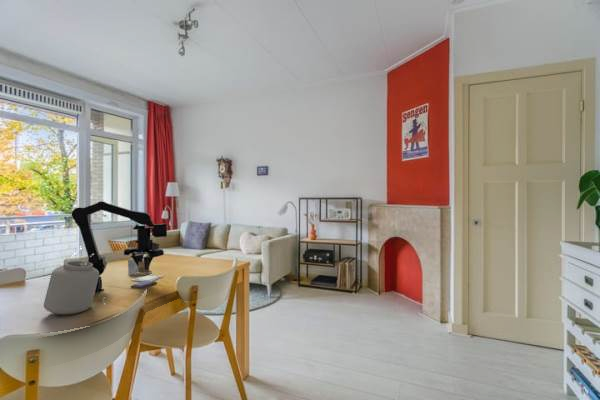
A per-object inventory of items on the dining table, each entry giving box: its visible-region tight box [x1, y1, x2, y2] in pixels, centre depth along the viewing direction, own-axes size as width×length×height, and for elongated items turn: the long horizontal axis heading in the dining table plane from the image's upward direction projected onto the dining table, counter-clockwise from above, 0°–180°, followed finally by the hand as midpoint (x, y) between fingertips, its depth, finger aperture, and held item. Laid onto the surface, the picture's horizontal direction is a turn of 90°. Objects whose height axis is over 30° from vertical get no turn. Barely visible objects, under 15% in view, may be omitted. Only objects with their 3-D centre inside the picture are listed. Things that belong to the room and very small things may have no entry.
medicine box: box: [127, 257, 144, 276], centre depth 165 cm, size 8×4×9 cm, turn 179°
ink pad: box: [130, 280, 158, 290], centre depth 142 cm, size 9×7×1 cm
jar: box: [43, 245, 106, 315], centre depth 111 cm, size 19×15×25 cm
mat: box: [130, 274, 165, 283], centre depth 154 cm, size 11×11×1 cm
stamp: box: [135, 259, 153, 277], centre depth 142 cm, size 5×5×7 cm
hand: (143, 269), depth 142 cm, fingers closed on stamp, 3 cm apart
